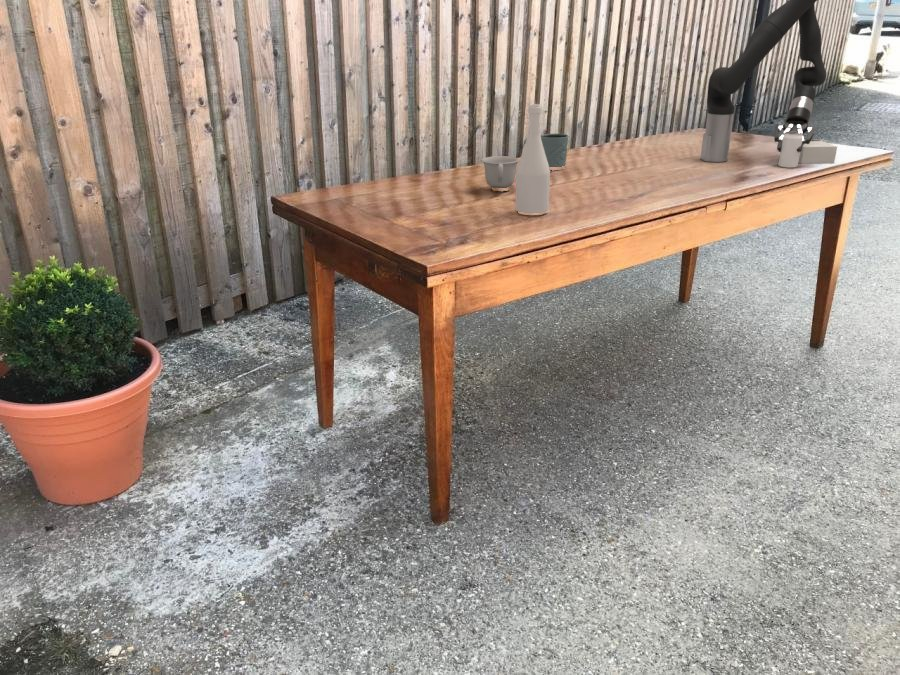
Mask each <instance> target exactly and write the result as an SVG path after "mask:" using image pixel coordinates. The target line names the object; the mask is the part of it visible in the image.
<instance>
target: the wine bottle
mask: <svg viewBox="0 0 900 675" xmlns="http://www.w3.org/2000/svg"><path fill="white" fill-rule="evenodd" d="M542 109H543V108H542V105H541V104H540V103H530V104H529V105H528V107H527V113H528V127H527V128H528V129H527V138H526V141H525V144H524V147H523V150H522V153H521V154H520V158H519V161H518V163H517V166H516V173H515V211H516V210H517V211H519V212H524V213H541V212H546V211H548V212H549V209H550V208H549V207H550V206H549V205H550V188H551V185H550V181H551V171H550V169H549V165H548V162H547V158H546V155H545V151H544V148H543V144H542V141H541V135H542V134H541V127H542V126H541V119H542V118H541V114H542Z"/></svg>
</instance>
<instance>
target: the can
mask: <svg viewBox="0 0 900 675" xmlns="http://www.w3.org/2000/svg"><path fill="white" fill-rule="evenodd" d="M803 137H804V136H803ZM803 137H802V133H801V132H800V133H798V132H794V131H789V132H785V135H784V136H783V141H782V147H781V152H779V158H778V166H779V167H780V168H784V169H796V168H797V167H798V165H799V162H798V161H799V156H800V152H799V153H798V152H797V149H798V148H799V146H801V144H802V139H803Z"/></svg>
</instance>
